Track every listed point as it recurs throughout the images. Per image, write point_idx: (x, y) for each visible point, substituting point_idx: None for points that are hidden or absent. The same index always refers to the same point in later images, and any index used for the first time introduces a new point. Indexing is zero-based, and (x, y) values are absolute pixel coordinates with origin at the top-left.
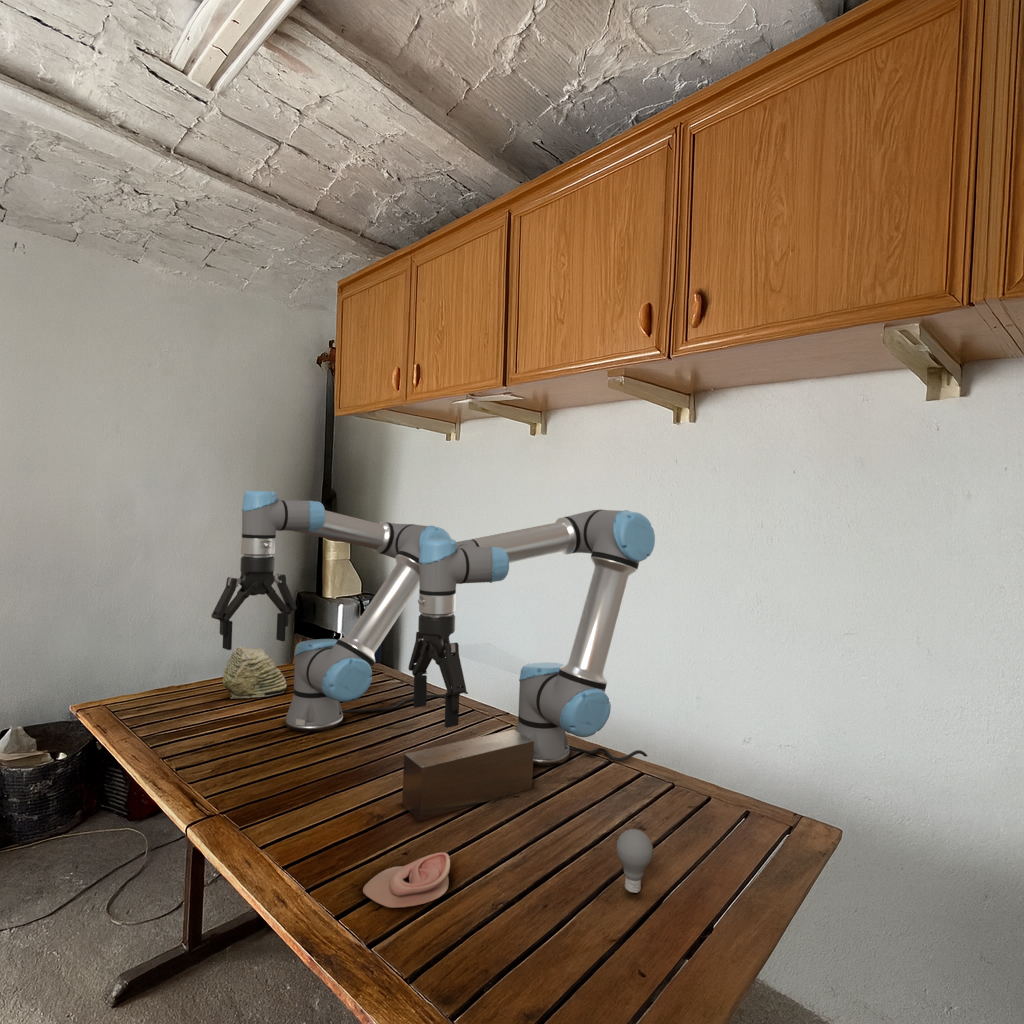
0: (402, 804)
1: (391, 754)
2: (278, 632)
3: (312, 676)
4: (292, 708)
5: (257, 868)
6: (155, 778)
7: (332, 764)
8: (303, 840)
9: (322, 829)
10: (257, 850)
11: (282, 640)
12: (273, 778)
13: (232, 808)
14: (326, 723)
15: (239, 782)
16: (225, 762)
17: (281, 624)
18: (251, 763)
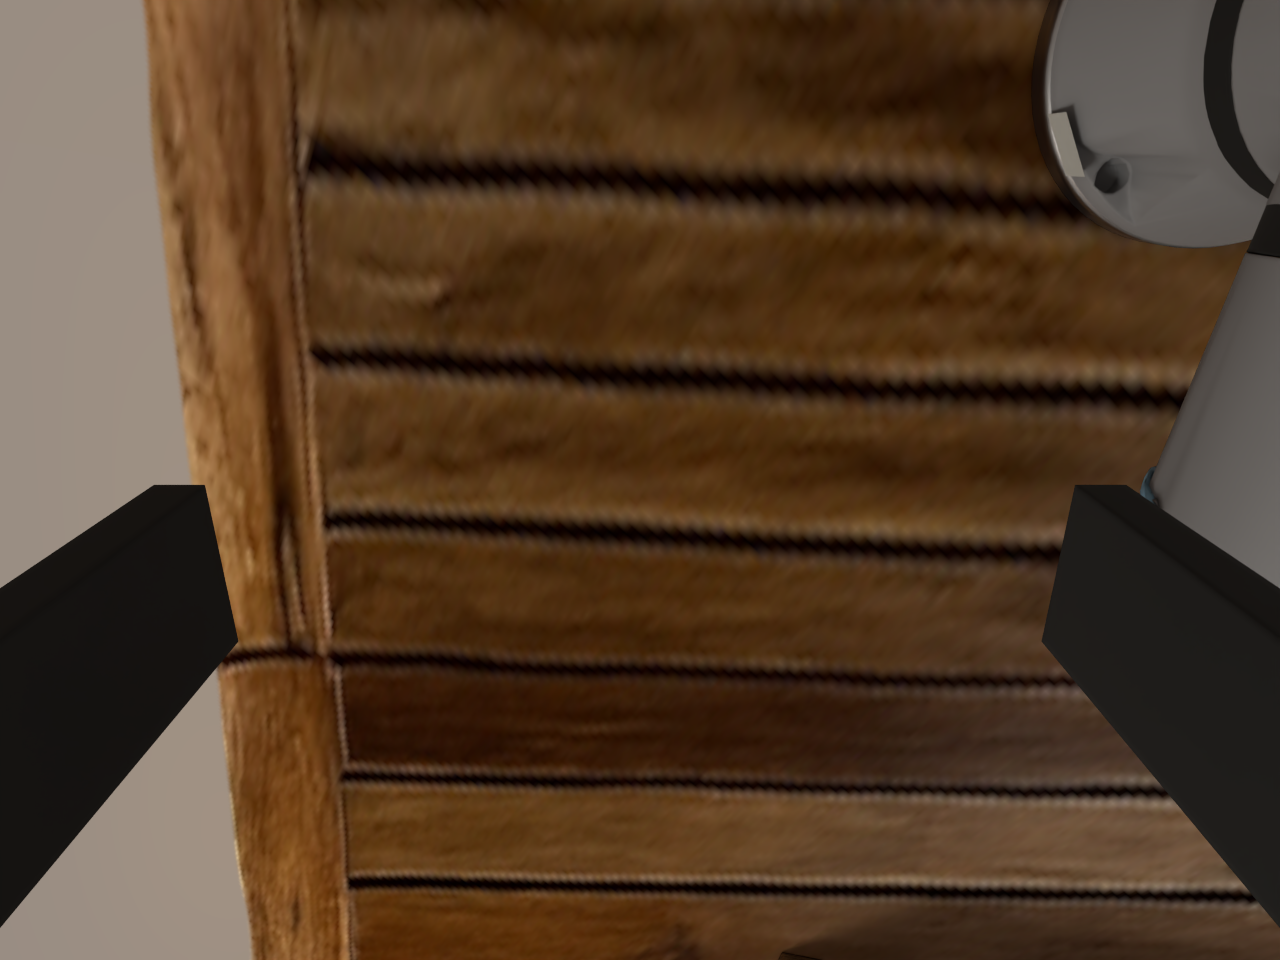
0: (780, 957)
1: None
2: (1136, 598)
3: (1250, 347)
4: (1133, 11)
5: (305, 943)
6: (202, 192)
7: (848, 600)
8: (456, 920)
9: (526, 911)
10: (337, 886)
11: (1051, 647)
12: (601, 551)
13: (374, 654)
14: (1166, 243)
15: (481, 492)
16: (526, 251)
17: (1223, 793)
18: (611, 352)
